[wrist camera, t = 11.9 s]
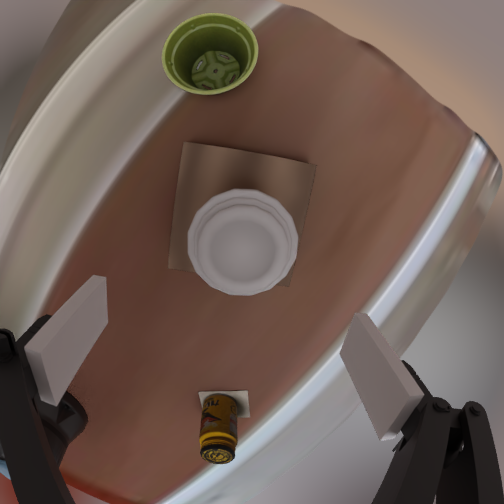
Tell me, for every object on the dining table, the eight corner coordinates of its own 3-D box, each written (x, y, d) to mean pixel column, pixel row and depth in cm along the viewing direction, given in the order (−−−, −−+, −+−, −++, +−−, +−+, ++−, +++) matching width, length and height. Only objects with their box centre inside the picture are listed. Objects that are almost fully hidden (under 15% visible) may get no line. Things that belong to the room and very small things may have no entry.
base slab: (173, 257, 39) (167, 268, 36) (189, 142, 35) (183, 141, 31) (284, 274, 41) (289, 286, 37) (308, 163, 36) (316, 165, 32)
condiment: (198, 391, 47) (191, 445, 36) (247, 389, 47) (250, 444, 36) (204, 417, 50) (200, 468, 38) (249, 415, 50) (253, 467, 38)
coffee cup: (290, 189, 33) (318, 209, 22) (269, 264, 36) (283, 315, 25) (211, 169, 32) (196, 178, 21) (193, 246, 35) (174, 292, 23)
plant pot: (233, 119, 34) (232, 109, 26) (165, 92, 32) (145, 76, 24) (266, 57, 32) (274, 32, 23) (199, 31, 30) (189, 2, 22)
